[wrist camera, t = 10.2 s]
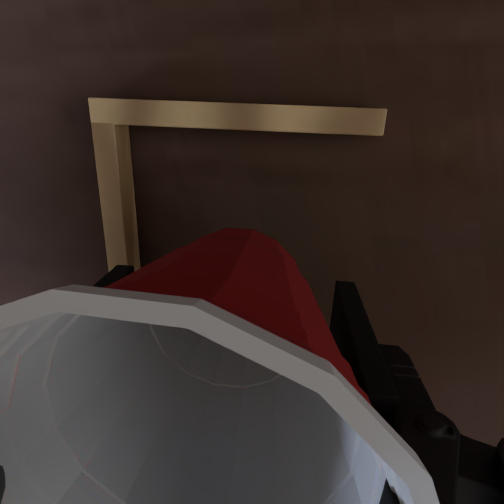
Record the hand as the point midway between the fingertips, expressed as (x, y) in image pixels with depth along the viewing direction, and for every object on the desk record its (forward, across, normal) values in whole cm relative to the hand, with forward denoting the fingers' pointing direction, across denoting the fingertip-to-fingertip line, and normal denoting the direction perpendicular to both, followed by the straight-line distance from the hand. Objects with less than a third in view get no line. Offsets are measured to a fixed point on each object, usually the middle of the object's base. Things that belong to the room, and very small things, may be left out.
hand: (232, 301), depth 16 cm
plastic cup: (+2, 0, 0) cm, 2 cm away
